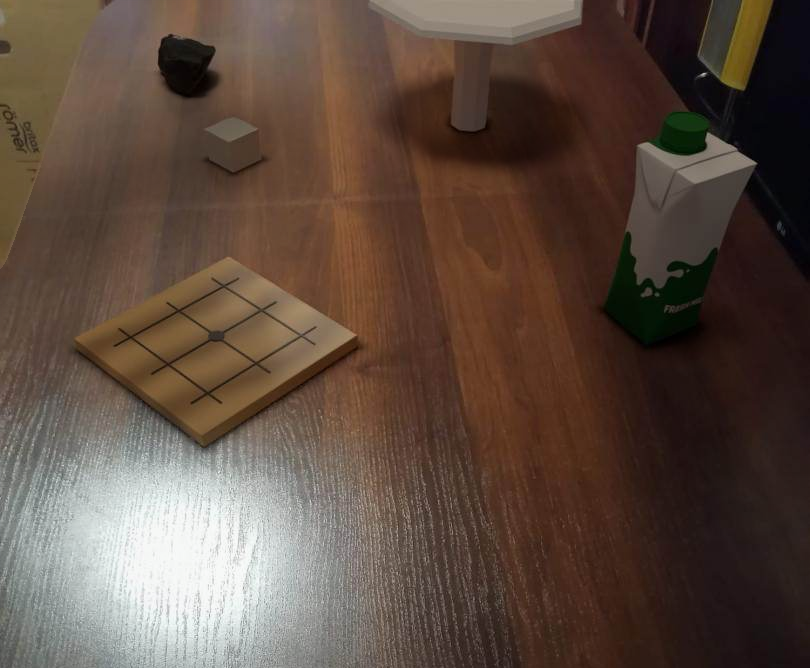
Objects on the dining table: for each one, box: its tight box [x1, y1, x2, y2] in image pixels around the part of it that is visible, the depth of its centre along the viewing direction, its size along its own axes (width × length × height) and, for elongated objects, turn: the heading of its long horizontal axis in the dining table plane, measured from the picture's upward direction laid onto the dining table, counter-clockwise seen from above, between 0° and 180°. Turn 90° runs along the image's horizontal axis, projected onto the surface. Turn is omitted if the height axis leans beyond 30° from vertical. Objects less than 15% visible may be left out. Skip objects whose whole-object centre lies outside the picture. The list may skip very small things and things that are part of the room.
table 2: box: [367, 0, 584, 132], centre depth 112 cm, size 28×28×17 cm
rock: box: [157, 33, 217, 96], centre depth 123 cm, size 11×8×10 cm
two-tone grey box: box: [203, 115, 263, 174], centre depth 110 cm, size 5×5×4 cm
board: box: [73, 255, 359, 448], centre depth 87 cm, size 20×20×2 cm
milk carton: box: [603, 110, 758, 346], centre depth 84 cm, size 9×9×20 cm
